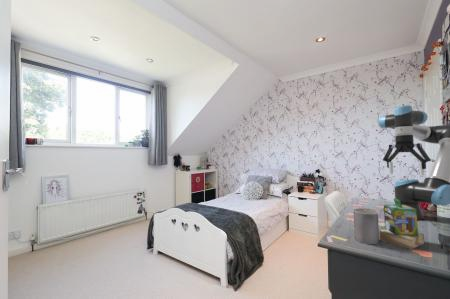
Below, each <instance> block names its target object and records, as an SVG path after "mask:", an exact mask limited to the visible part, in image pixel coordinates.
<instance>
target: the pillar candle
mask: <svg viewBox="0 0 450 299" xmlns="http://www.w3.org/2000/svg"><path fill="white" fill-rule="evenodd" d="M353 230H354V231H353V233H354V234H353V235H354V240H355V241H356V242H358V243H361V244H364V245H378V244H380V232H379V231H380V228H379V212H378V210H375V209H370V208H367V207H365V208H363V207H361V208H360V207H359V208H354V209H353Z"/></svg>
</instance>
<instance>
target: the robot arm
mask: <svg viewBox="0 0 450 299" xmlns="http://www.w3.org/2000/svg"><path fill="white" fill-rule="evenodd" d="M427 120H428V114H427V113H426V112H425V111H422V110H414V109H413V107H412V105H410V104H409V105H400V106H396V107H395V108H394V109H393V114H392V113H391V114H386V115H382V116H380V117H379V118H378V121H377V123H378V127H380V128H382V129H388V128H390V129H394V134H395V136H394V140H395V141H394V142H395V143H394V144H388V148H387V150H386V153H385V155H384V157H383V159H382V161H383V162H386V167H387V168H388V174H389V175H393V174H394V163H393V160H394V159H395V158H396V156H397V155H399V154H401V153H410V154H412V155H413V156H414V157H415V158H416V159H417V160H418V161H420V162H419V163H418V165H419V166H418V167H419V169H418V170H419V176H421V177H422V176H423V177H424V176H425V170H426V169H427V162H431V160H432V159H431V158H430V157H429V156H428V154H427V152H426V151H425V149H424V148H423V145H422V143H420V142H418V143H414V141H415V140H414V139H416V140H419V141H421V142H425V143H428V144H429V143H430V144H436V145H437V144H439V145H440V147H439V149H438V152H437V154H436V158H435V160H434V163H433V165H432V168H431V171H430V173H429V176H427V177H425V178H424V180H423V182H420V180H419V179H416V178H415V179H398V180H395V181H394V199H397V200H400V203H401V205H406V206H409V207H412V208H415V209H416V210H417V221H420V220H424V213H423V211H422V208H421V206H420V203H425V204H429V205H430V204H431V205H435V206H449V205H450V124H443V125H434V126H433V125H431V126H430V125H423V124H424V123H425V122H427ZM394 148H395V150H394V152H393V149H394ZM414 148H416V149H417V150H418V151H419V153H420V154H419V153H418V152H417V151H416V150H415V149H414ZM392 152H393V153H392ZM397 204H398V205H399V203H398V202H397Z"/></svg>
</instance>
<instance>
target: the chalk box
mask: <svg viewBox="0 0 450 299" xmlns="http://www.w3.org/2000/svg"><path fill="white" fill-rule="evenodd" d="M393 202H394V204H383V216H384V229H387V230H389V231H390V232H392V233H393V234H395V235H418V233H419V231H418V230H419V229H418V228H419V227H418V220H417V210H416V209H415V208H412V207H409V206H406V205H401V203H400V200H397V199H395V198H393ZM397 202H398V203H399V205H398V204H397Z"/></svg>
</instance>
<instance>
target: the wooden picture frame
mask: <svg viewBox="0 0 450 299" xmlns="http://www.w3.org/2000/svg"><path fill="white" fill-rule="evenodd" d="M380 240H381V241H383V242H387V243H389V244H392V245H396V246H400V247H403V248H407V249H409V250H413V249H415V248H417V247H420V246H421V245H423V244H425V234H424V233H421V232H418V235H395V234H393V233H392V232H390V231H389V230H387V229H386V228H384V229H382V230H379V241H380Z"/></svg>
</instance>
